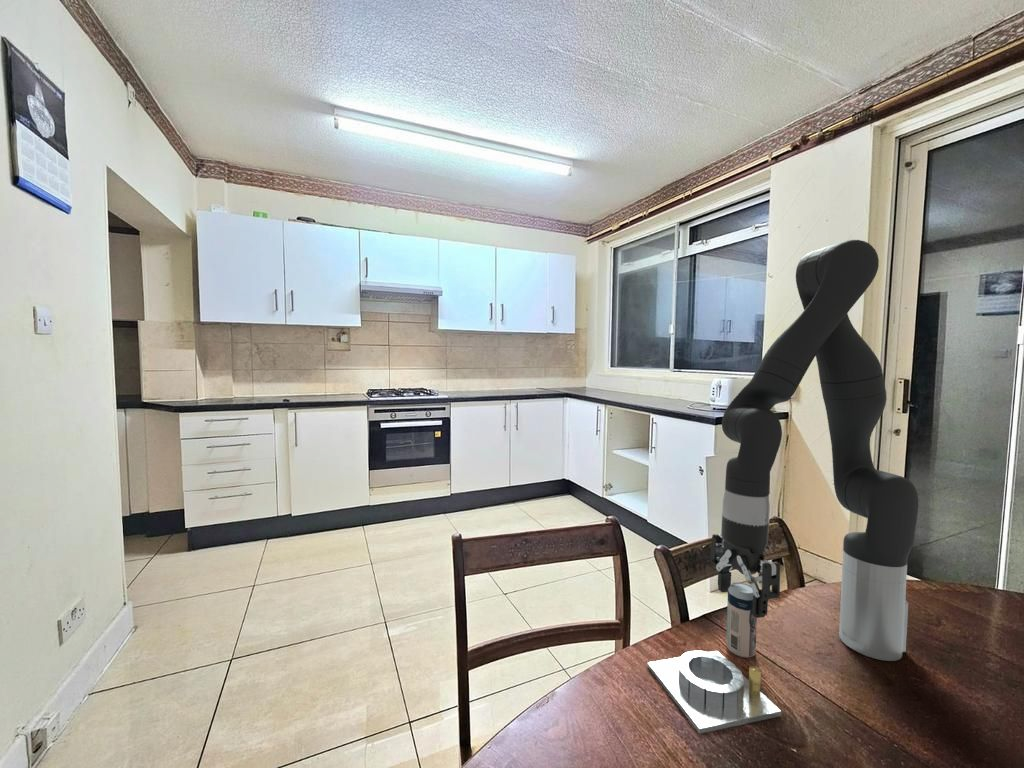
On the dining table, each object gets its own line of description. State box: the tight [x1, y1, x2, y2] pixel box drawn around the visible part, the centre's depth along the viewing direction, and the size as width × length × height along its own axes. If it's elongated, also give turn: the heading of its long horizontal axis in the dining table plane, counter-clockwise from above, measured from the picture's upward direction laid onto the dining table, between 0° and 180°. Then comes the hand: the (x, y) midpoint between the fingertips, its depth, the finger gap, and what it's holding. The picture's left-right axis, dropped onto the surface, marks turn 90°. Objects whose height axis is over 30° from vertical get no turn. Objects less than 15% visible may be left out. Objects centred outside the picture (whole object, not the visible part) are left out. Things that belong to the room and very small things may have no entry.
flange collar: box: [647, 649, 782, 735], centre depth 71 cm, size 14×14×5 cm
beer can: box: [725, 581, 758, 659], centre depth 80 cm, size 5×5×12 cm
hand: (740, 603), depth 80 cm, fingers open, 8 cm apart
